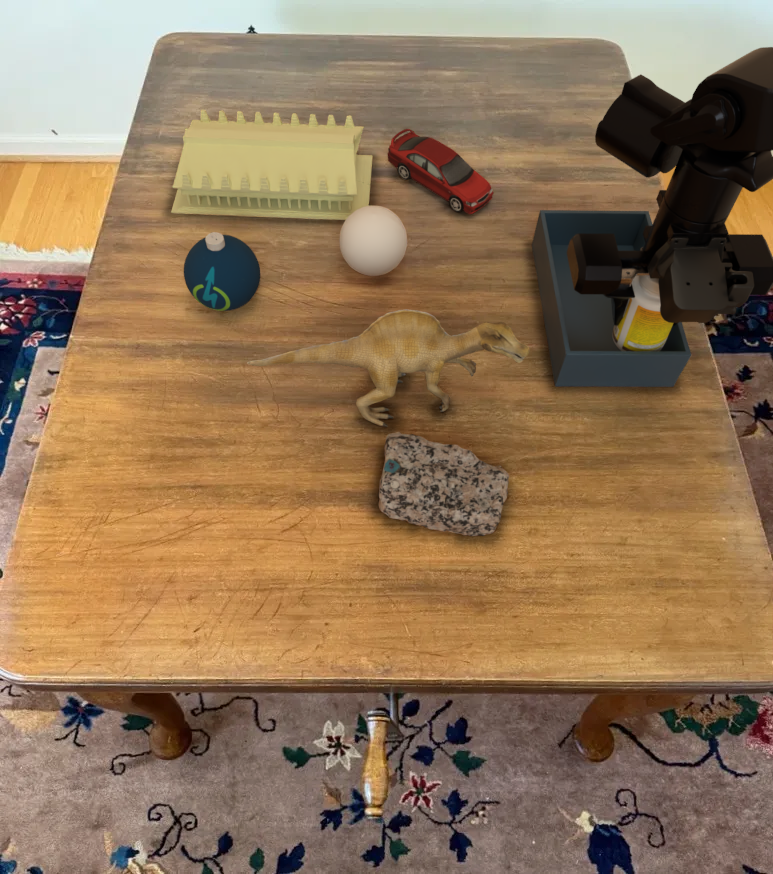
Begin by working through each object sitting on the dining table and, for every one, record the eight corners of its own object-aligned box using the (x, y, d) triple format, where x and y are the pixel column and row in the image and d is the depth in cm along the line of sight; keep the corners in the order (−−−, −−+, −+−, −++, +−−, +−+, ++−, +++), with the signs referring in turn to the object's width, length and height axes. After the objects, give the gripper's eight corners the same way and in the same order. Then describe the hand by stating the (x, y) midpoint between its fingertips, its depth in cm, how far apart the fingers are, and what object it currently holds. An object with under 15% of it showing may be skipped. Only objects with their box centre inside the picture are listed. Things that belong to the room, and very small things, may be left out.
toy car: (413, 150, 102) (415, 118, 98) (494, 204, 97) (500, 172, 92) (384, 168, 100) (384, 135, 96) (465, 224, 94) (470, 192, 90)
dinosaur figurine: (514, 416, 78) (538, 332, 67) (262, 438, 76) (244, 356, 65) (499, 359, 83) (520, 272, 71) (260, 379, 81) (243, 292, 69)
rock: (368, 521, 72) (368, 499, 68) (386, 446, 76) (387, 422, 72) (497, 546, 70) (505, 525, 67) (508, 469, 75) (515, 445, 71)
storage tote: (673, 387, 81) (691, 355, 76) (554, 386, 81) (566, 354, 76) (634, 245, 93) (648, 210, 88) (531, 245, 93) (539, 209, 88)
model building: (372, 155, 102) (372, 107, 96) (367, 222, 94) (367, 175, 88) (190, 148, 102) (179, 99, 96) (171, 214, 94) (157, 167, 88)
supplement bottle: (674, 348, 80) (706, 279, 71) (631, 367, 78) (658, 299, 70) (642, 314, 82) (669, 243, 74) (600, 331, 81) (622, 262, 73)
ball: (336, 288, 88) (334, 236, 81) (343, 241, 92) (341, 188, 86) (404, 292, 88) (407, 240, 81) (407, 245, 92) (410, 192, 86)
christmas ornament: (176, 305, 86) (156, 239, 78) (225, 263, 90) (210, 196, 82) (231, 337, 84) (216, 273, 75) (279, 293, 87) (269, 227, 79)
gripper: (607, 267, 60) (565, 383, 73) (834, 268, 61) (752, 384, 74) (585, 178, 66) (550, 300, 79) (792, 179, 67) (723, 301, 80)
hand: (643, 322), depth 78 cm, fingers closed on supplement bottle, 5 cm apart
